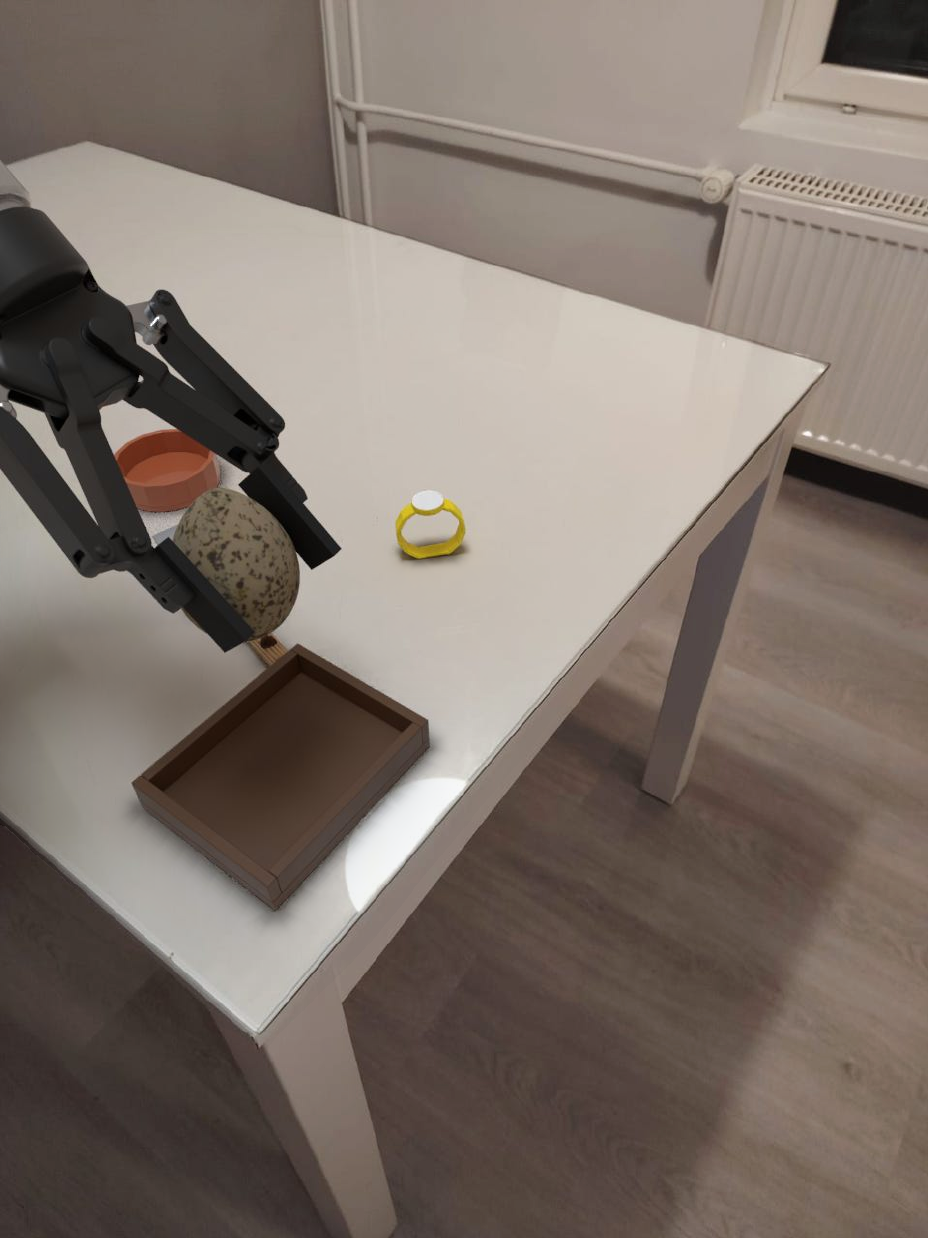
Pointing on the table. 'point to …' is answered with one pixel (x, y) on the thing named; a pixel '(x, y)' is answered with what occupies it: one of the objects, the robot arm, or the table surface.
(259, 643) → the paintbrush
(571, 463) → the table surface
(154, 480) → the shallow dish
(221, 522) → the decorative egg
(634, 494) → the table surface
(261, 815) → the tray
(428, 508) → the watch
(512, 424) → the table surface
